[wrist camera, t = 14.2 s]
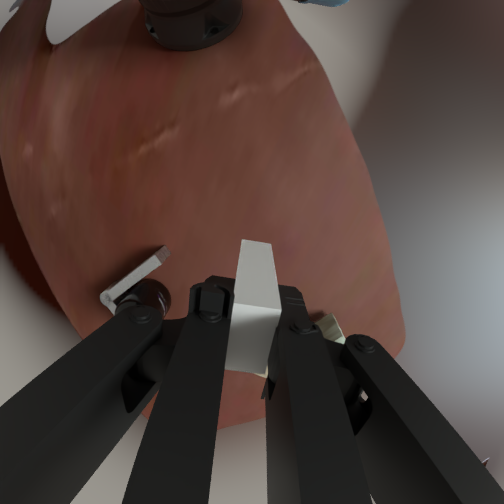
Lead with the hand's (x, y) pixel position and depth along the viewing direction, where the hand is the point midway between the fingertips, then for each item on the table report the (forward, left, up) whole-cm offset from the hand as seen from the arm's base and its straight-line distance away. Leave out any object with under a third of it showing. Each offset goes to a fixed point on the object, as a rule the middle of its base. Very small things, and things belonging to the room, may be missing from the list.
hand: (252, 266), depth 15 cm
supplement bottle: (+18, -13, -27) cm, 35 cm away
